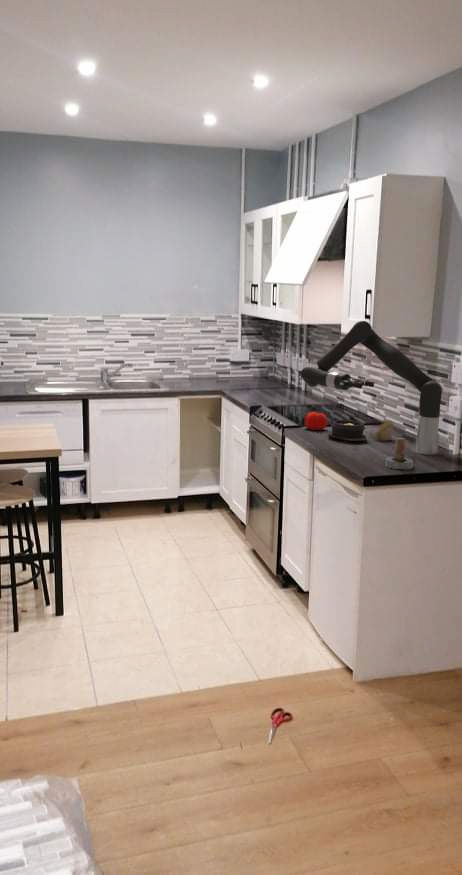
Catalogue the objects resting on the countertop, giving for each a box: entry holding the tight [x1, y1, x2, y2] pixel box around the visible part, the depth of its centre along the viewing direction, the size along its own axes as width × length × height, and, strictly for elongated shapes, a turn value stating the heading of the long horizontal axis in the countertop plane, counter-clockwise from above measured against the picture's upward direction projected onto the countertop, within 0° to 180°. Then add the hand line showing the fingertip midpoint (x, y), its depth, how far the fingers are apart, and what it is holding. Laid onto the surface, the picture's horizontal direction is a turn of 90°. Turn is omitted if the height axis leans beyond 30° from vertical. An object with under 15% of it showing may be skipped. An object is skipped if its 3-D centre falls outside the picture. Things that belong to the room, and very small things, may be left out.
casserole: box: [327, 419, 368, 442], centre depth 370 cm, size 25×19×8 cm
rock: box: [373, 420, 394, 442], centre depth 372 cm, size 11×9×10 cm
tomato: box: [304, 411, 328, 431], centre depth 391 cm, size 11×12×9 cm
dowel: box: [393, 437, 407, 461], centre depth 316 cm, size 4×4×12 cm
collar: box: [384, 456, 414, 471], centre depth 317 cm, size 11×11×3 cm
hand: (367, 385), depth 327 cm, fingers open, 8 cm apart
